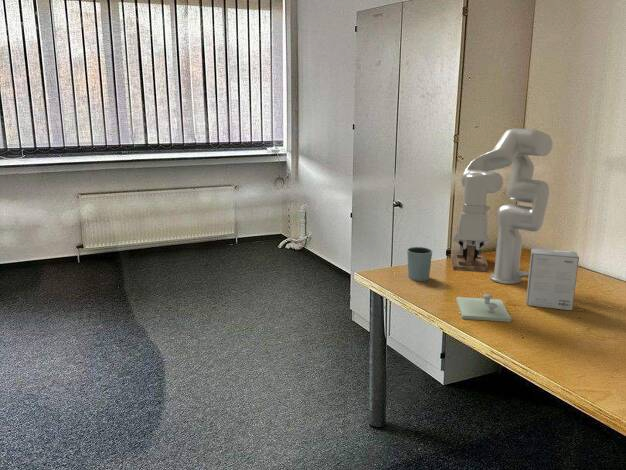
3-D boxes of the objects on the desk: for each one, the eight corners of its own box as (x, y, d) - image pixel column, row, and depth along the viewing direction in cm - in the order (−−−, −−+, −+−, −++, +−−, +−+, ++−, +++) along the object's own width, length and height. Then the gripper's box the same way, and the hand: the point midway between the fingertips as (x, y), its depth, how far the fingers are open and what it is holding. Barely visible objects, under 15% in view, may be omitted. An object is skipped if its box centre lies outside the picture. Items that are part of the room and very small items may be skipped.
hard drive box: (570, 304, 202) (577, 251, 197) (572, 311, 195) (580, 257, 190) (525, 298, 207) (531, 247, 202) (526, 305, 200) (532, 252, 195)
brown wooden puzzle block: (483, 259, 204) (485, 241, 203) (489, 272, 189) (490, 253, 187) (450, 257, 206) (452, 239, 205) (453, 270, 191) (454, 251, 189)
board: (500, 302, 203) (501, 292, 202) (510, 321, 185) (512, 310, 184) (456, 299, 205) (457, 289, 204) (462, 318, 187) (463, 307, 186)
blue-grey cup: (432, 281, 224) (434, 253, 221) (407, 281, 225) (409, 253, 222) (427, 274, 234) (429, 246, 231) (404, 273, 234) (405, 246, 231)
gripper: (496, 208, 195) (491, 257, 199) (449, 205, 198) (446, 255, 202) (499, 212, 188) (494, 263, 192) (451, 210, 191) (447, 260, 195)
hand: (469, 258), depth 197 cm, fingers closed on brown wooden puzzle block, 2 cm apart
